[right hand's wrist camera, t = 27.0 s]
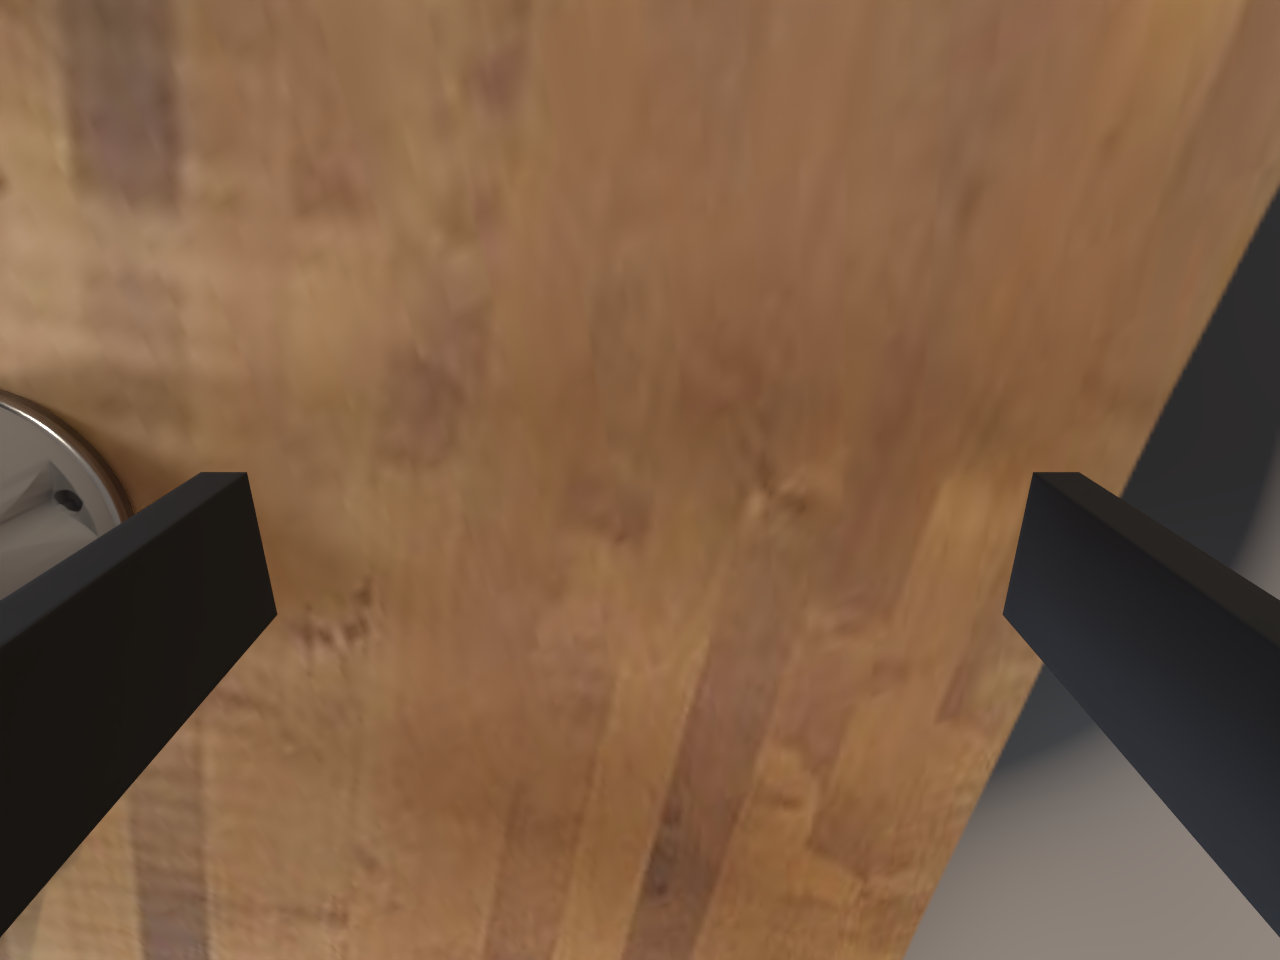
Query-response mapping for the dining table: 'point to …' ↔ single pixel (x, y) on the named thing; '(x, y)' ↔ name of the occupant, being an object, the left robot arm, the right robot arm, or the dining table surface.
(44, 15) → the dining table surface
